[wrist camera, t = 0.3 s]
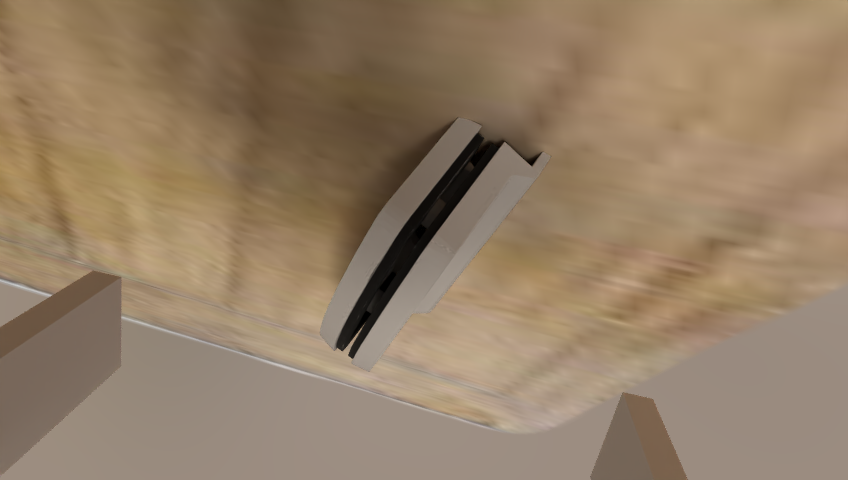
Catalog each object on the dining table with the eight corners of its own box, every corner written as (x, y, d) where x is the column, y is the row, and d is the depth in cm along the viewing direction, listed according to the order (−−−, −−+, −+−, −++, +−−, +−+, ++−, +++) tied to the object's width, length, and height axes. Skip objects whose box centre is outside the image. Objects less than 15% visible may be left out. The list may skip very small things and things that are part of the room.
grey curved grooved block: (440, 297, 42) (363, 410, 36) (386, 259, 42) (301, 365, 36) (555, 151, 28) (462, 294, 22) (475, 95, 28) (362, 222, 22)
